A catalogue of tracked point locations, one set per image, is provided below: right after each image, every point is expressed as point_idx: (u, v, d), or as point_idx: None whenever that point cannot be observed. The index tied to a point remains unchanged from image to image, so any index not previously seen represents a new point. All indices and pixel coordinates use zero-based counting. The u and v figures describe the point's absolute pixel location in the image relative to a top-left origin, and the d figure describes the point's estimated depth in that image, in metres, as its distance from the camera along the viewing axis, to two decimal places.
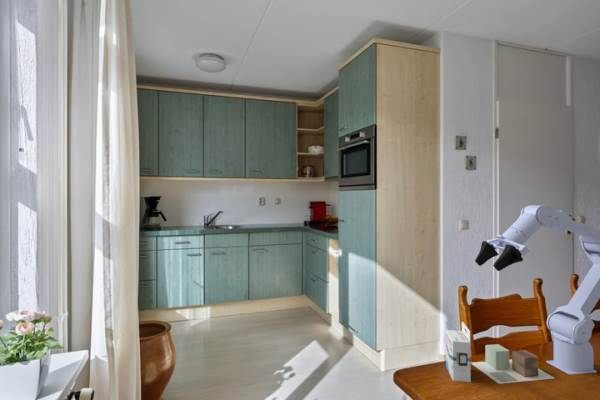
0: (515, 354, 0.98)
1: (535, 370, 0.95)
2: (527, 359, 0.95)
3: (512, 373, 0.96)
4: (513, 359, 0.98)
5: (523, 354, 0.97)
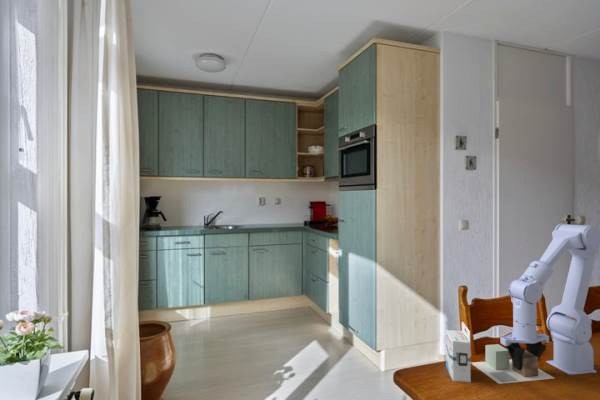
0: None
1: (535, 370, 0.95)
2: (527, 359, 0.95)
3: (512, 373, 0.96)
4: None
5: (523, 354, 0.97)
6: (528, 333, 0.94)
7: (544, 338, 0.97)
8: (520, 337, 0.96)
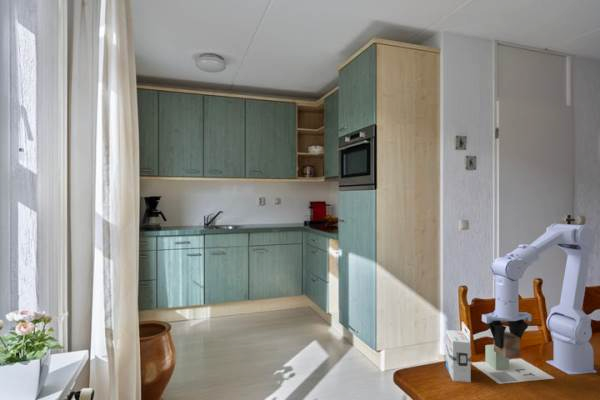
0: None
1: (516, 351, 0.93)
2: (509, 339, 0.93)
3: (512, 373, 0.96)
4: None
5: (505, 335, 0.95)
6: (510, 310, 0.93)
7: (526, 316, 0.95)
8: (501, 315, 0.94)
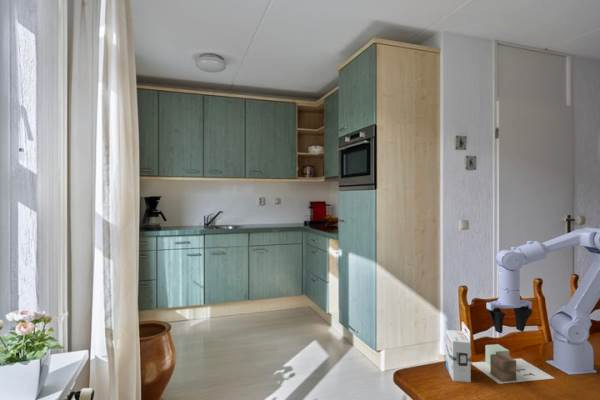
0: (493, 358, 0.96)
1: (513, 374, 0.93)
2: (505, 363, 0.93)
3: None
4: (491, 363, 0.96)
5: (501, 357, 0.95)
6: (512, 298, 1.01)
7: (527, 303, 1.04)
8: (504, 302, 1.03)
